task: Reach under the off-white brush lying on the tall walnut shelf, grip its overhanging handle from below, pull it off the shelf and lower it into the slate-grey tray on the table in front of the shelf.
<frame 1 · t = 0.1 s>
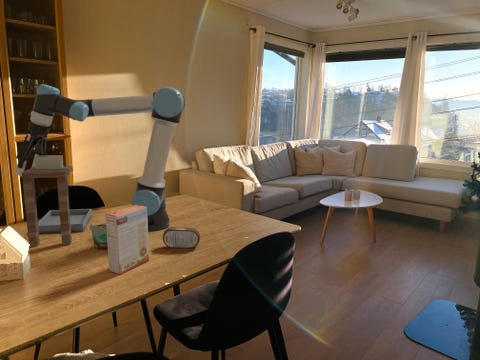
hand: (27, 172, 148), 28 cm above the table, tool tilted 20°, fingers open, 13 cm apart
shelf stand: (58, 234, 156), on the table
tray: (66, 223, 169), on the table
tin: (181, 248, 146), on the table
cracker box: (129, 266, 128), on the table
food container: (108, 248, 143), on the table
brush: (53, 166, 150), point 30 cm above the table, touching shelf stand
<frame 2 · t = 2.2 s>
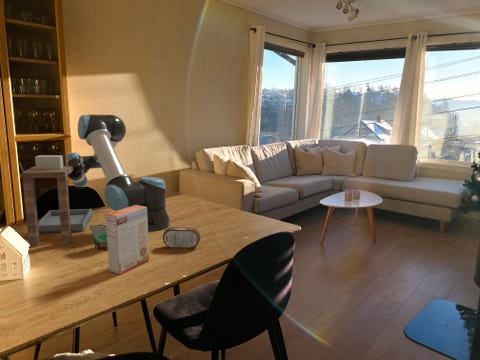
hand: (65, 159, 172), 29 cm above the table, tool pointing upward, fingers open, 13 cm apart
nothing on the table moved.
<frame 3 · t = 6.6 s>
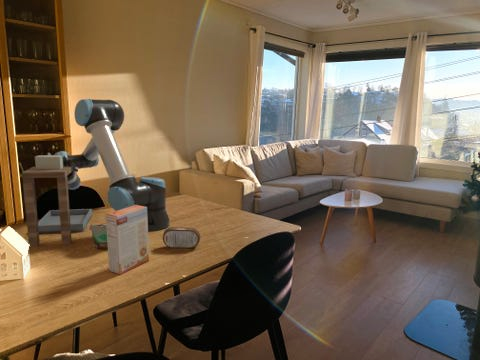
hand: (53, 155, 151), 34 cm above the table, tool pointing upward, fingers closed on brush, 3 cm apart
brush: (53, 166, 150), point 30 cm above the table, touching gripper, shelf stand
everything else where it was.
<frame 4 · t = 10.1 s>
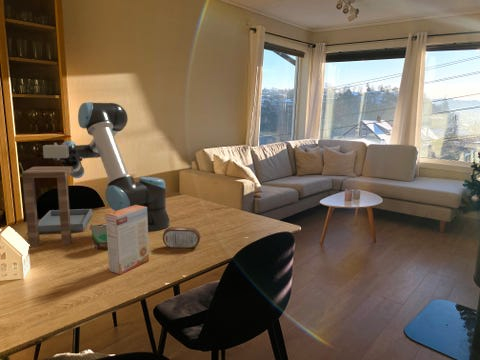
hand: (59, 145, 161), 37 cm above the table, tool pointing upward, fingers closed on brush, 3 cm apart
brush: (59, 155, 160), point 33 cm above the table, touching gripper
everything else where it was.
when the fingers open (10 cm above the table, at t = 13.9 s): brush drops 5 cm, resting on tray.
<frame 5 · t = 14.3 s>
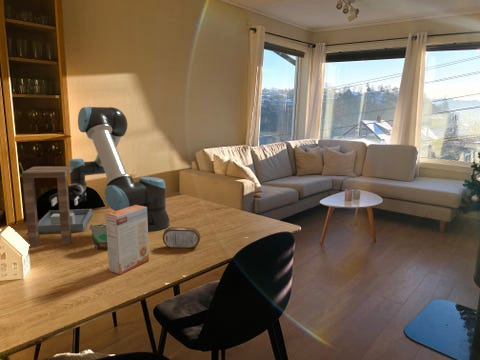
hand: (64, 202, 166), 10 cm above the table, tool horizontal, fingers open, 9 cm apart
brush: (65, 221, 169), point 1 cm above the table, touching tray
everything else where it was.
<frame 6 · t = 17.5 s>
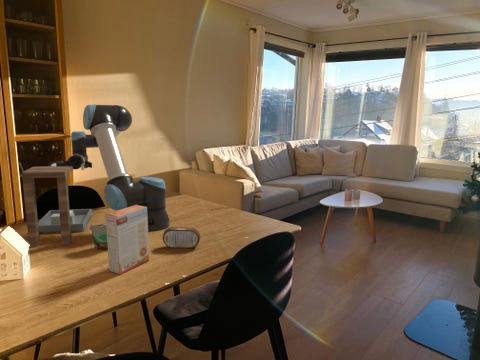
hand: (67, 167, 174), 25 cm above the table, tool horizontal, fingers open, 13 cm apart
nothing on the table moved.
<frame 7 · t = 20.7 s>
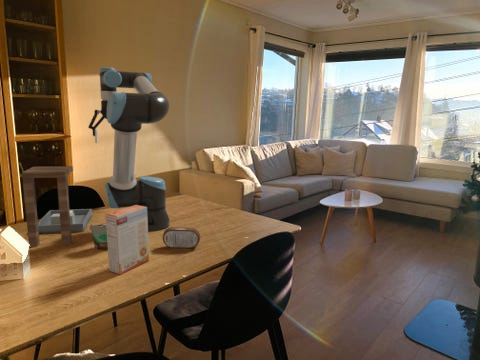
hand: (110, 142, 182), 37 cm above the table, tool pointing down, fingers open, 13 cm apart
nothing on the table moved.
at the end: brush 0.2 cm from the tray (horizontally); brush point 1.0 cm above the table; the gripper is holding nothing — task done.
